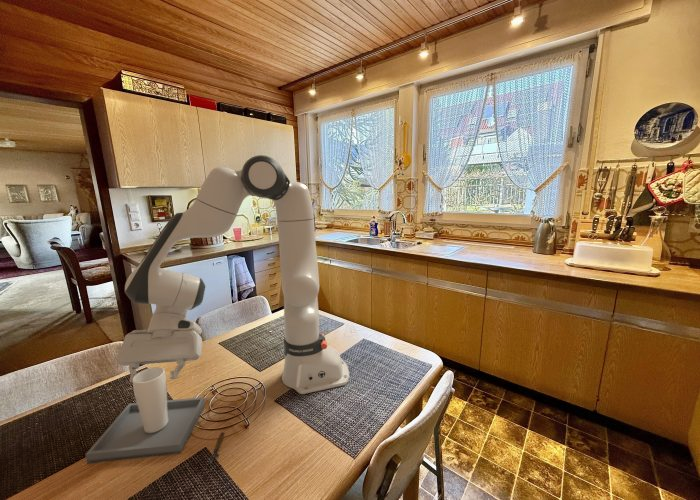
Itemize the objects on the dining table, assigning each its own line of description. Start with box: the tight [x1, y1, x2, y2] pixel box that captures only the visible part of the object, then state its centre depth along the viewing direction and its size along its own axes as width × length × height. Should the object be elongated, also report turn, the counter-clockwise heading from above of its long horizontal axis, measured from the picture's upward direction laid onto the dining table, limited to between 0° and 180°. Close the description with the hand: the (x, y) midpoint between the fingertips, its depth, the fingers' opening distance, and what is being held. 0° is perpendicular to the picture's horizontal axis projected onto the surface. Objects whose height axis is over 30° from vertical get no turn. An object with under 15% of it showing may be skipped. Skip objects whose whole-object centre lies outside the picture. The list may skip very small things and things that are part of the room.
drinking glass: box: [132, 366, 168, 433], centre depth 73 cm, size 7×7×15 cm
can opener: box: [208, 431, 225, 466], centre depth 68 cm, size 9×2×1 cm, turn 0°
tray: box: [84, 396, 206, 465], centre depth 74 cm, size 20×16×2 cm
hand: (153, 380), depth 74 cm, fingers open, 8 cm apart
